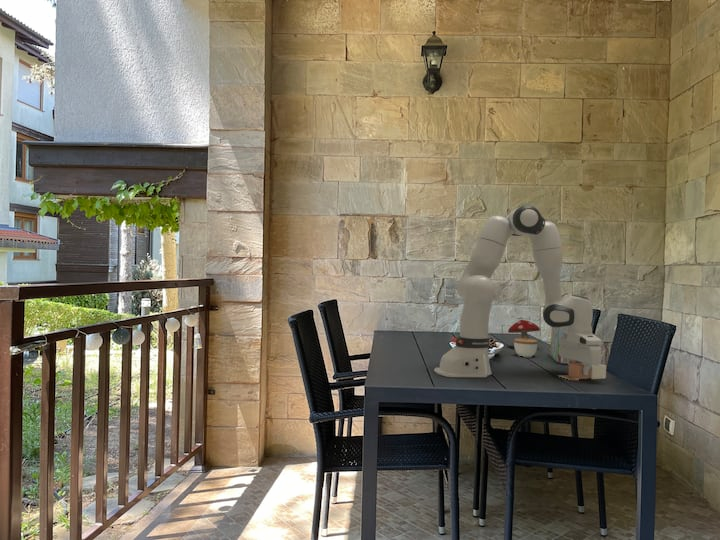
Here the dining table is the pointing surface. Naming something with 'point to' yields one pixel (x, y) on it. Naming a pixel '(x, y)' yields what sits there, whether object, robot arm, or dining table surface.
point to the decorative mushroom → (523, 328)
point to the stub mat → (568, 377)
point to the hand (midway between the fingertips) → (578, 372)
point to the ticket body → (597, 372)
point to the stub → (577, 370)
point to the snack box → (557, 343)
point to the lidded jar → (525, 347)
